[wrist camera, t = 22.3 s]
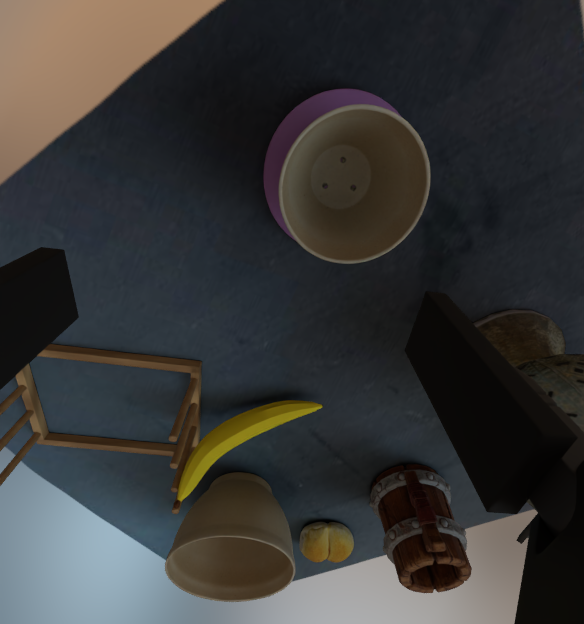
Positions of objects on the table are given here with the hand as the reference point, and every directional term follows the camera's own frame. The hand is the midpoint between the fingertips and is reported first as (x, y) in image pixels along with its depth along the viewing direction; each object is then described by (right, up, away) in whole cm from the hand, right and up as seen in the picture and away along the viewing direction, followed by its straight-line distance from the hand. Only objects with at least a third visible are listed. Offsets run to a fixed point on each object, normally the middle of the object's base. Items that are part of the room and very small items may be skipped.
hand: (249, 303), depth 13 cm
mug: (+19, -25, +38) cm, 49 cm away
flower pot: (+6, +11, +16) cm, 20 cm away
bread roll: (+7, -38, +45) cm, 59 cm away
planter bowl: (-6, -28, +39) cm, 48 cm away
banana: (-5, -13, +29) cm, 32 cm away
